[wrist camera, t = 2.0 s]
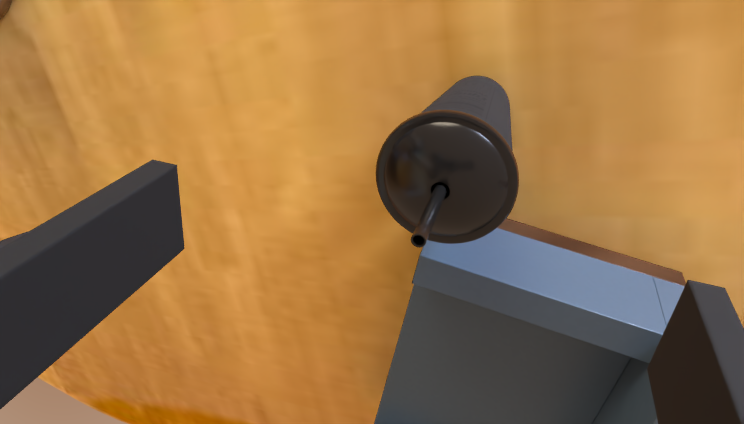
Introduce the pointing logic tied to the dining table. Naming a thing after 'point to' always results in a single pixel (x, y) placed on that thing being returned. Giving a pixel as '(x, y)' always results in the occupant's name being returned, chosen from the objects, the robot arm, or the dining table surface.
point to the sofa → (528, 333)
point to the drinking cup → (452, 165)
